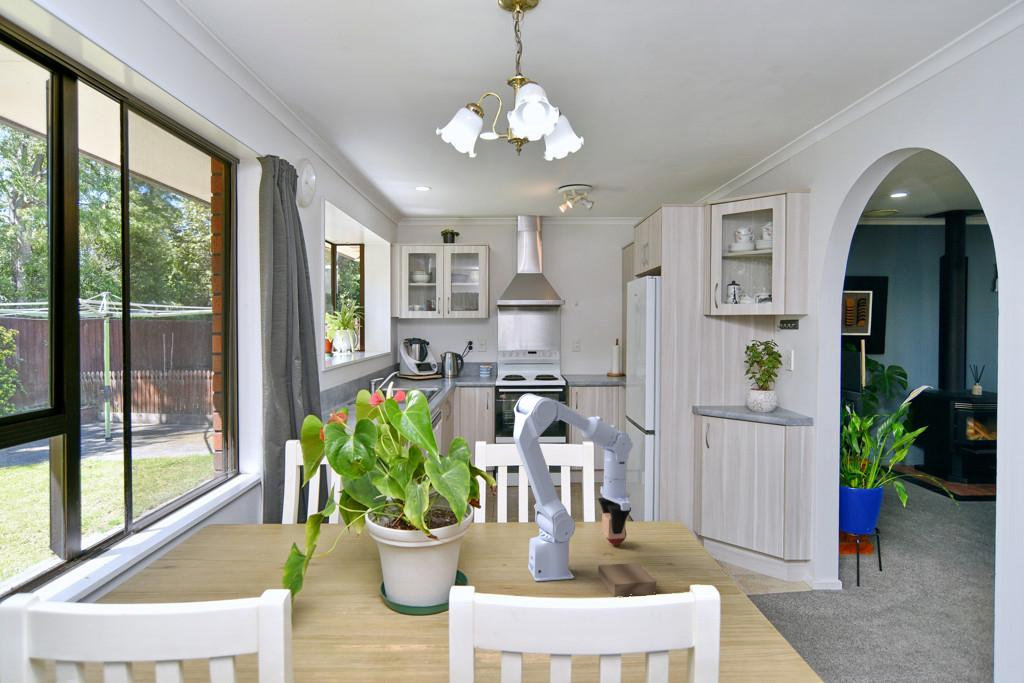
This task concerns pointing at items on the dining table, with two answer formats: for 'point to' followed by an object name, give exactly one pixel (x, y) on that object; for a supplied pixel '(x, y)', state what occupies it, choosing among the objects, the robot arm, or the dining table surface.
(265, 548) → the dining table surface
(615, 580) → the walnut base
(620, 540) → the onion
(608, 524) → the terracotta cube
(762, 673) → the dining table surface
